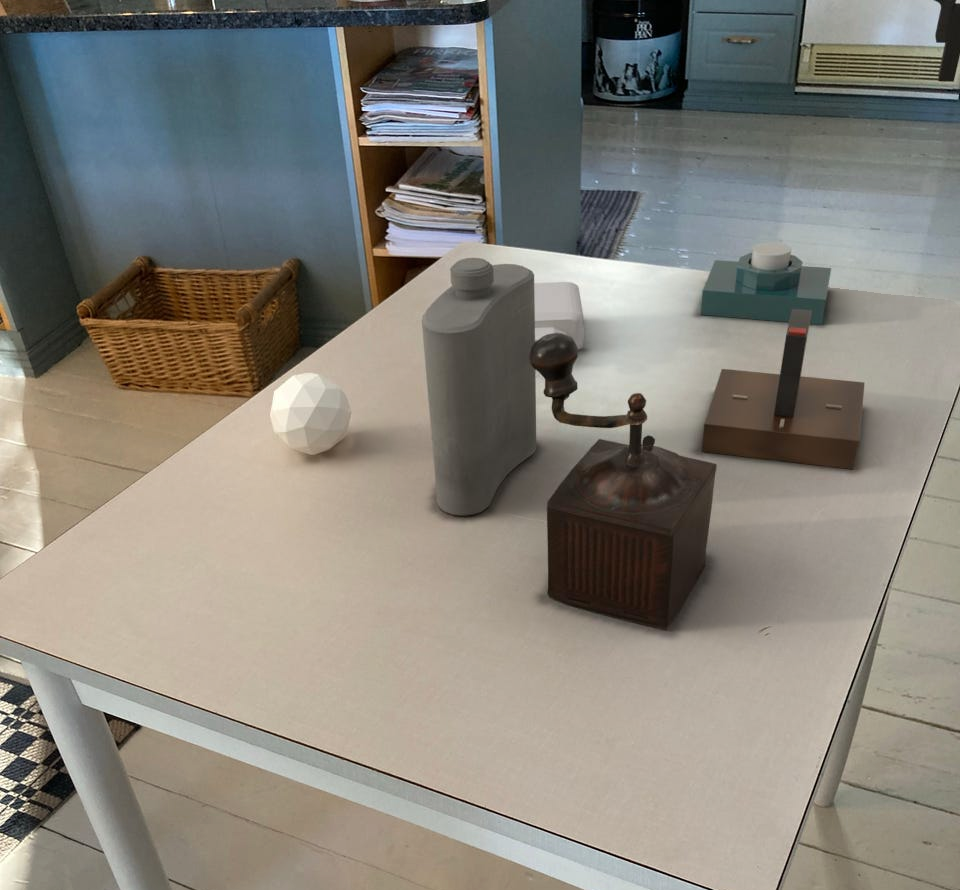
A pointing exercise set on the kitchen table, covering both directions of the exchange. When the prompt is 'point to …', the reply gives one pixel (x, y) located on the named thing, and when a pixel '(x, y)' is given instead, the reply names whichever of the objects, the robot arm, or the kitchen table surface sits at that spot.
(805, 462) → the brown lever base block
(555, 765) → the kitchen table surface
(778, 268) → the white push button
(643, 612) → the manual coffee grinder
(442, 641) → the kitchen table surface
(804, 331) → the dark upright slab
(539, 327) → the charger
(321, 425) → the geometric ball
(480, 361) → the flask
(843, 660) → the kitchen table surface
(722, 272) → the teal nut fixture block
